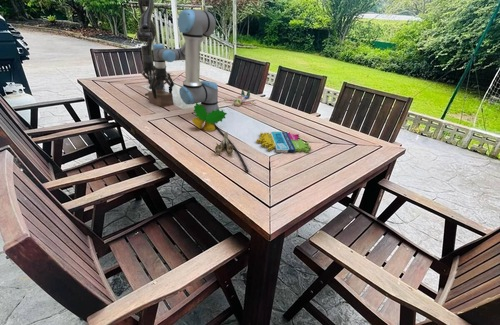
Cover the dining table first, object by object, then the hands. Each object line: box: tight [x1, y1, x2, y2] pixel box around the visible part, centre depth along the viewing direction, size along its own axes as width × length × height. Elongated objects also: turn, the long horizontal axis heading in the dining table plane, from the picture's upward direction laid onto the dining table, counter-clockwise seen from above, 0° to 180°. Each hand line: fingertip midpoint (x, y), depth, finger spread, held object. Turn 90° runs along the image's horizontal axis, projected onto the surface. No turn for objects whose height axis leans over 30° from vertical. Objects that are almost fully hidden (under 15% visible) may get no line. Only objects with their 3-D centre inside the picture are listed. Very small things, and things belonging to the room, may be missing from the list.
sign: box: [256, 131, 312, 154], centre depth 152 cm, size 26×2×30 cm
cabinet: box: [147, 90, 174, 108], centre depth 201 cm, size 16×10×8 cm, turn 50°
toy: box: [223, 89, 257, 106], centre depth 219 cm, size 28×7×30 cm
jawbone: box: [214, 131, 234, 156], centre depth 136 cm, size 9×15×10 cm
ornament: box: [191, 102, 228, 132], centre depth 162 cm, size 21×8×15 cm, turn 105°
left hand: (150, 84), depth 204 cm, fingers closed
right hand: (163, 96), depth 199 cm, fingers open, 13 cm apart
